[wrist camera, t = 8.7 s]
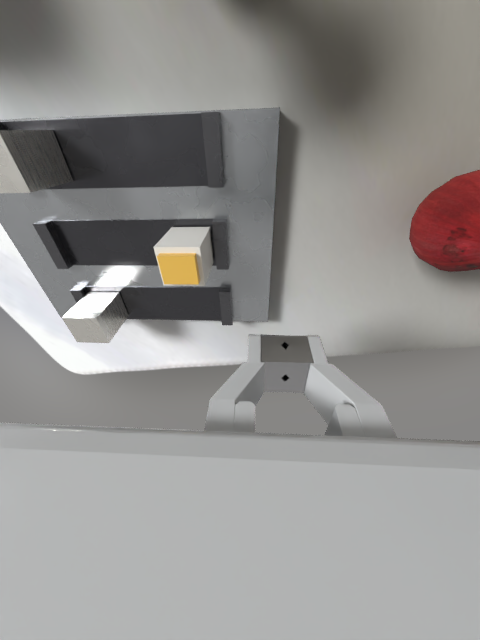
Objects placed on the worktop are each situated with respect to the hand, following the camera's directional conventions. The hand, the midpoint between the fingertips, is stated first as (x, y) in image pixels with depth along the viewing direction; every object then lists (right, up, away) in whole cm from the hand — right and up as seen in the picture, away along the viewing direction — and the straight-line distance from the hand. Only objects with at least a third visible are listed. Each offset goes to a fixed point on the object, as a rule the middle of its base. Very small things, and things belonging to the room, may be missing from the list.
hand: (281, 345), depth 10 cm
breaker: (-6, +7, +8) cm, 12 cm away
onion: (+13, +10, +7) cm, 18 cm away
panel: (-10, +8, +10) cm, 17 cm away
